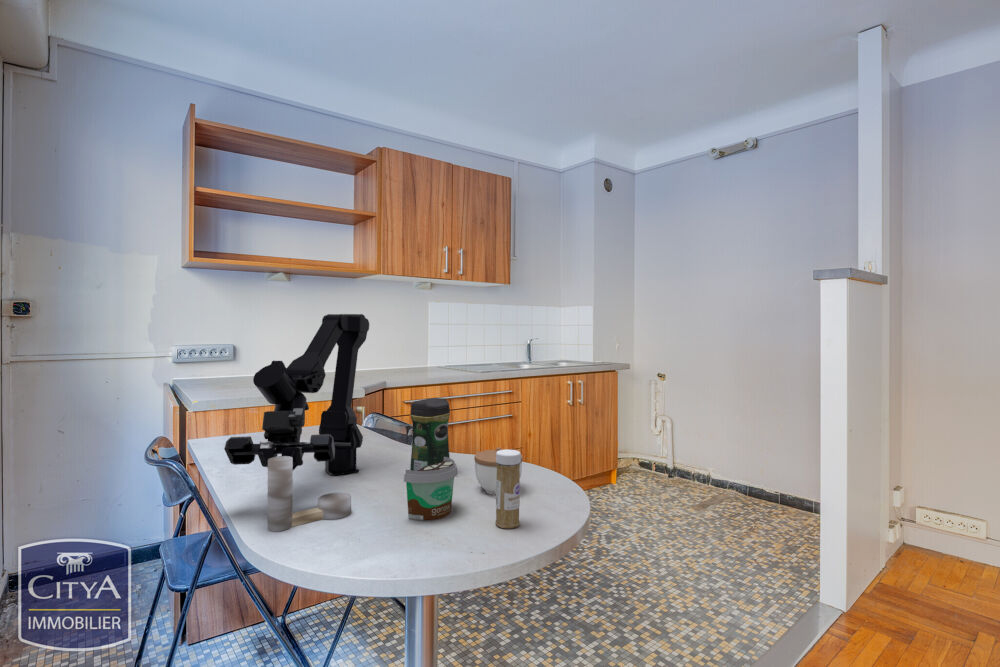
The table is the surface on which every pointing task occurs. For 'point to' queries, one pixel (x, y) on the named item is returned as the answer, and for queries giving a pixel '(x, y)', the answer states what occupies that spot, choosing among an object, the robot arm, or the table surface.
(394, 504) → the table surface
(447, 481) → the food container
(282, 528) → the crank handle
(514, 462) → the sprinkles bottle
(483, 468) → the lidded jar
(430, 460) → the coffee jar
